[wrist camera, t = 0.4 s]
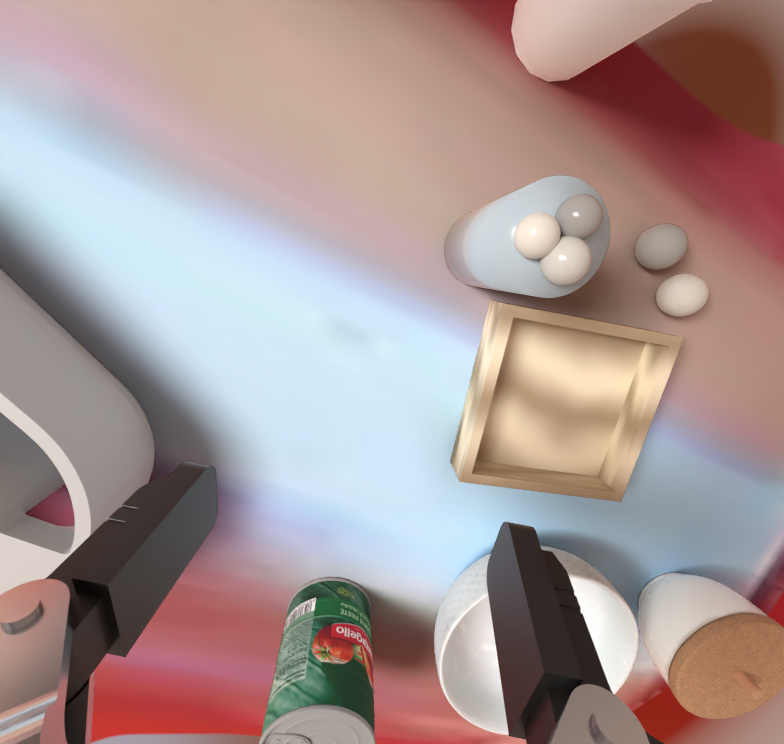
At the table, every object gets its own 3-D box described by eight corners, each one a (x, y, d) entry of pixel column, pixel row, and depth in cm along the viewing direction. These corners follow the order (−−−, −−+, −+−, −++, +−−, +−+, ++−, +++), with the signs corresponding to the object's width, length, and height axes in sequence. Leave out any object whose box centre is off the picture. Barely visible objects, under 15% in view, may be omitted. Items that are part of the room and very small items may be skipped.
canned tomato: (384, 589, 36) (395, 724, 25) (352, 650, 38) (349, 800, 27) (305, 566, 34) (281, 698, 24) (275, 630, 36) (240, 781, 26)
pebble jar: (453, 203, 27) (532, 152, 15) (523, 218, 28) (652, 182, 16) (437, 279, 28) (498, 288, 16) (504, 292, 29) (610, 310, 17)
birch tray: (490, 299, 29) (505, 303, 26) (651, 330, 31) (683, 337, 28) (450, 461, 33) (459, 481, 30) (597, 480, 35) (620, 501, 31)
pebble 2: (654, 269, 30) (688, 270, 27) (690, 277, 30) (727, 278, 27) (640, 310, 31) (671, 315, 27) (675, 317, 31) (710, 322, 28)
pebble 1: (632, 221, 29) (665, 216, 26) (670, 230, 29) (707, 226, 26) (618, 265, 29) (649, 264, 26) (655, 273, 30) (689, 273, 27)
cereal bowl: (623, 583, 38) (680, 651, 31) (501, 680, 40) (529, 764, 34) (517, 483, 34) (557, 537, 27) (388, 598, 36) (394, 674, 29)
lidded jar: (603, 635, 40) (675, 743, 31) (634, 550, 37) (722, 640, 28) (694, 638, 41) (789, 742, 32) (730, 556, 38) (845, 644, 29)
